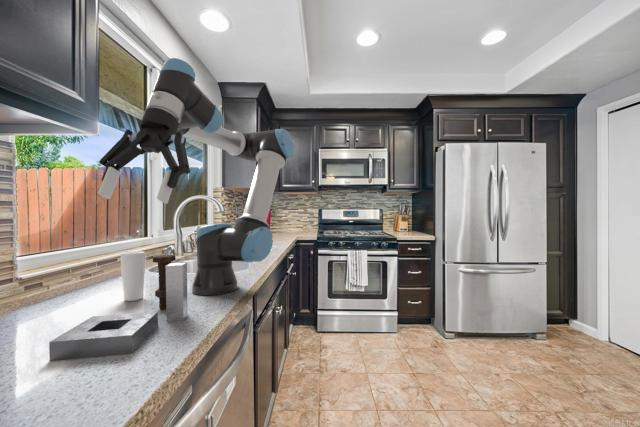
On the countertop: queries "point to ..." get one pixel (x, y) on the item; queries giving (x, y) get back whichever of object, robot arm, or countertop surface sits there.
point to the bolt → (162, 277)
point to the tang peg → (176, 291)
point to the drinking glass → (133, 274)
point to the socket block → (104, 336)
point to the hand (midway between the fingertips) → (132, 199)
